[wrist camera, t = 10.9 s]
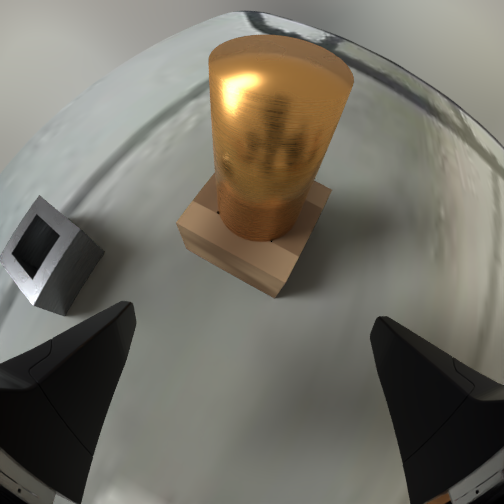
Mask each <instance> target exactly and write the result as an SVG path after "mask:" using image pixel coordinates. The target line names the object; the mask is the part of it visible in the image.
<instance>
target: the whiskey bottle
mask: <svg viewBox="0 0 504 504" xmlns="http://www.w3.org/2000/svg"><path fill="white" fill-rule="evenodd" d="M448 501H450V497H449V494H448V493H447V494H445V495H443V496H441V497H439V498H437V499H435V500H433V501H431V502H428V503H426V504H445V503H446V502H448Z"/></svg>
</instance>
